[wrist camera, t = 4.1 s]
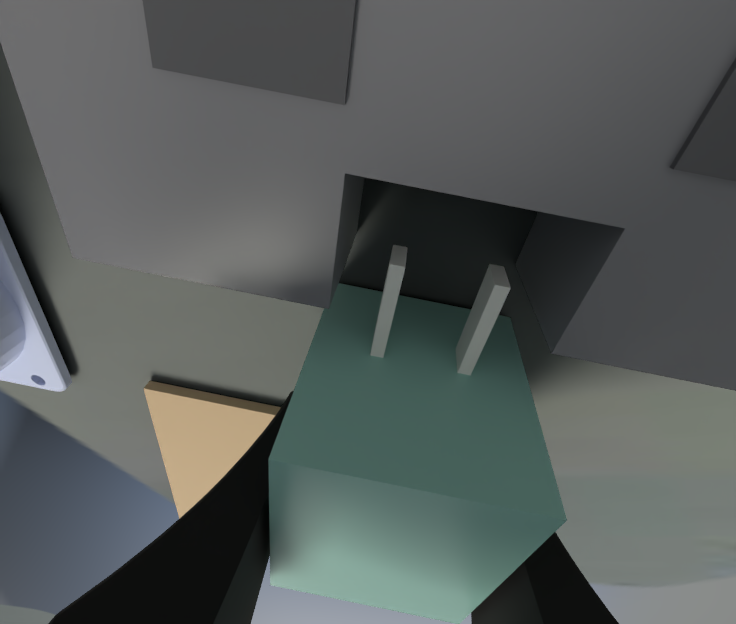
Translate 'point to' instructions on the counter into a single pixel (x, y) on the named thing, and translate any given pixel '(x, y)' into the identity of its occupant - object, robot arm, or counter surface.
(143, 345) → the counter surface
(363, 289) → the charger
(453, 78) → the power strip
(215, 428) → the cork mat
